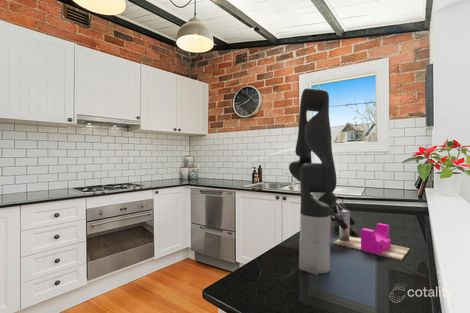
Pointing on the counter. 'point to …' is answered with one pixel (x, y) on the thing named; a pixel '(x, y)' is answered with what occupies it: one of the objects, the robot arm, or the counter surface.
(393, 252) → the beige piece
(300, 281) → the counter surface
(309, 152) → the robot arm
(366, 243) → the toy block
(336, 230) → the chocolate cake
